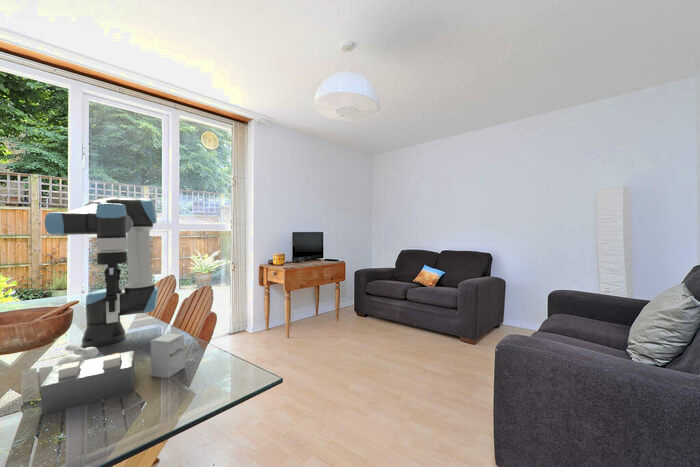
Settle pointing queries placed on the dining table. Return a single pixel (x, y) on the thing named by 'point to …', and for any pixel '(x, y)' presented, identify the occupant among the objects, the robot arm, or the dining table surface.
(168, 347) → the supplement box
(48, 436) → the dining table surface
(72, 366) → the block
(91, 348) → the rabbit
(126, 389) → the block
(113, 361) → the block
